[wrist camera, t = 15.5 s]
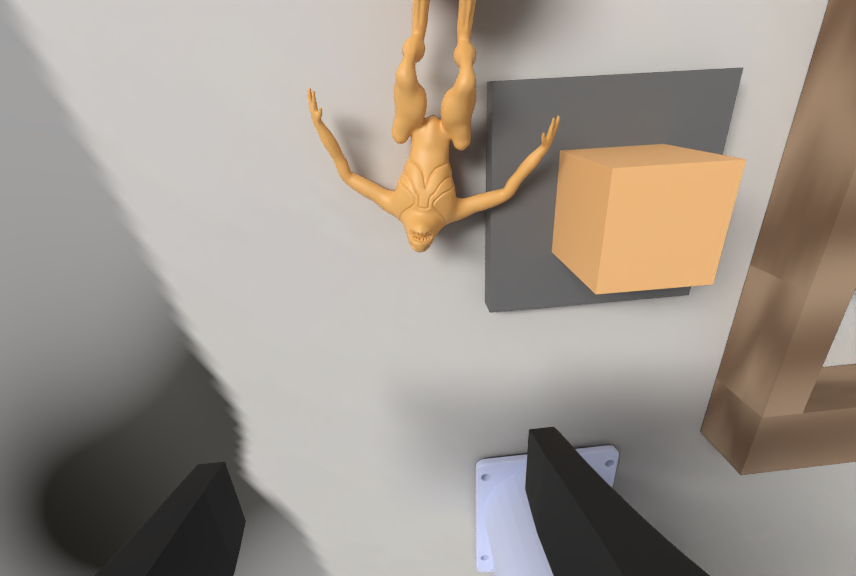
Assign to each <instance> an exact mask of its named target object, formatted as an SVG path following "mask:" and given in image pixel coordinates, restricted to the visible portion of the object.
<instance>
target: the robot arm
mask: <svg viewBox="0 0 856 576" xmlns="http://www.w3.org/2000/svg"><path fill="white" fill-rule="evenodd" d="M618 458H619V452H618V451H617V449H616V448H615V447H614V446H612V445H607V446H598V447H589V448H579V449H574V448H573V447H572V445H571V444H570V443H569V442H568V441H567V440H566V439H565V438H564V437H563V436H562V434H561V433H560V432H559V431H558V430H557V429H556V428H554V427H547V428H538V429H529V437H528V452H527V454H525V455H516V456H507V457H498V458H488V459H482V460H480V461H478V463H477V464H476V567H477V570H478V571H480V572H490V571H494V576H710V575H708V574H707V573H706V572H705V571H703V570H702V569H701V568H700V567H699V566H697V565H696V564H695V563H694V562H692V561H691V560H690V559H689V558H688V557H687V556H685V555H684V554H683V553H682V552H681V551H679V550H678V549H677V548H676V547H675V546H674V545H673V544H671V543H670V542H669V541H668V540H667V539H666V538H665V537H664V536H662V535H661V534H660V533H659V532H658V531H657V530H656V529H655V528H654V527H652V526H651V525H650V524H649V523H648V522H647V521H646V520H645V519H644V518H643V517H642V516H641V515H639V514H638V513H637V512H636V511H635V510H634V509H633V508H632V507H631V506H630V505H629V504H628V503H627V502H626V501H625V500H624V499H623V498H622V497H621V496H620V495H619V494H618V493H617V492H616V491H615V490H614V489H613V483H614V478H615V473H616V468H617V463H618ZM484 474H485V475H484ZM244 526H245V518H244V515H243V512H242V509H241V506H240V504H239V501H238V498H237V495H236V492H235V489H234V487H233V484H232V481H231V478H230V475H229V473H228V470H227V467H226V464H225V462H218V463H209V464H199V465H197V466H196V467H195V468H194V469H193V471H192V472H191V473H190V474H189V475H188V476H187V477H186V478H185V479H184V480H183V481H182V482H181V484H180V485H179V486H178V487H177V488H176V489H175V490H174V491H173V493H172V494H171V495H170V496H169V497H168V498H167V499H166V500H165V501H164V502H163V503H162V505H161V506H160V507H159V508H158V509H157V510H156V511H155V512H154V513H153V514H152V516H151V517H150V518H149V519H148V520H147V521H146V522H145V523H144V524H143V525H142V527H141V528H140V529H139V530H138V531H137V532H136V533H135V534H134V535H133V536H132V537H131V539H129V541H128V542H127V543H126V544H125V545H124V546H123V547H122V548H121V549H120V550H119V552H117V553H116V555H115V556H114V557H113V558H112V559H111V560H110V561H109V562H108V563H107V564H106V565H105V566H104V567H103V568H102V569H101V570H100V571H99V572H98V573H97V574H96V575H95V576H233V575H234V572H235V568H236V563H237V559H238V555H239V551H240V546H241V541H242V536H243V531H244Z"/></svg>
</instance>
